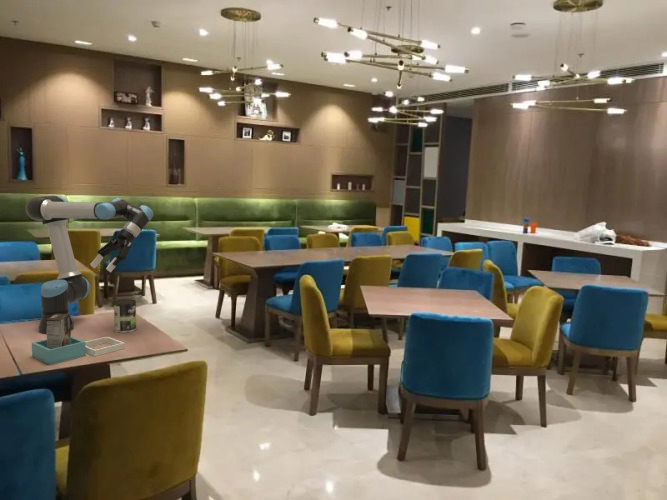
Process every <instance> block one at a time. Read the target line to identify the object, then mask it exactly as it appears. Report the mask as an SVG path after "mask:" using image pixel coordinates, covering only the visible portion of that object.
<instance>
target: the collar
mask: <svg viewBox="0 0 667 500" xmlns="http://www.w3.org/2000/svg"><path fill="white" fill-rule="evenodd" d="M84 342H85V348H86V354H89V355H90V356H93V357H97V356H101V355H105V354H110V353H113V352H116V351H120V350H123V349H126V343H125V342H123V341H121V340H118V339H116V338H113V337H110V336H104V337H100V338H94V339H91V340H86V341H84ZM103 344H109V345H107V346H105V347H102V348H101V347H100V348H97V349H94V348H92V347H94V346H95V347H96V346H97V345H103Z"/></svg>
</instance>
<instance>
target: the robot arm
mask: <svg viewBox="0 0 667 500" xmlns="http://www.w3.org/2000/svg"><path fill="white" fill-rule="evenodd" d="M25 212H26V214H27V216H28V217H29V218H30V219H32V220H34V221H38V222H42V223H41V224H42V226H44V227H45V228H47V232H48V236H49V240H50V244H51V247H52V248H51V249H52V252H53V256H54V260H55V263H56V267H57V272H58V275H57V278H56V279H53V280H49V281H45V282H44V283H43V284H42V285H41V286H40V298H41V300H40V301H41V318H40V321H39V325H38V332H39V333H41V334H45V335H47V332H46V319H48V318H49V317H51V316H52V315H54V314H70V308H69V307H70V305H71V304H74V303H77V302H80V301H81V300H83V299H85V298H87V296H88V295H89V293H90V290H91V285H90V282H89V280H88V279H87V278H86V277H84V276H83V273H82V272H81V271H80V270H78V267H77V263H76V259H75V255H74V251H73V248H72V247H73V246H72V244H71V239H70V236H69V232H68V228H67V223H68V221H69V219H100V220H110V219H118V218H124V219H125V220H127V222H126V223H125V224H124V226H123V227H122V228H121V229H120V231H119V232H118V233H117V238H116V239H115V238H114V237H112V238H111V240H110V241H108V242H107V243H106V244H105V245H103V246H102V247H101V248H99V249H98V250H97V251H96V252H97V255H96V256H95V258H94V259H93V260H92V262H90V264H89V265H90V267H92V268H93V269H96V268H97V266H98V265H99V264H100V263H101V262H102V261H103V259H104V258H105V256H107V255H108V254H109V253H111V252H113V251H116V250H117V253H116V255H115V257H114V258H113V259H112V260H111V261H110V262H109V264H108V265H107V267H106V268H105V269H106V270H107V271H108V272H109V273H112V271H113V270H114V269H116V267H117V266H118V265H119V263H120V262H122V261H125V260H126V259H127V256H128V253H129V252H130V249H131V247H132V246H133V242H134V241H135V239H136V238H137V237H138V236H139V235H140V233H141V232H142V230H143V229H145V227H146V226H147V225H148V224H149V222H150V221H151V220H152V218H153V217H154V211H153V209H151V208H150V207H149V206H148V205H143V204H142V205H140V206H139V207H138V206H136V205H134V204H132V203H130V202H128V201H126V200H125V199H123V198H120V197H115V198H114V199H112V200H111V201H110V202H108V201H107V202H103V201H102V202H101V201H100V202H99V201H97V202H96V201H93V202H92V201H90V202H88V201H87V202H86V201H85V202H84V201H82V202H81V201H68V200H66V199H65V198H64V197H62V196H60V195H46V196H45V195H44V196H35V197H32V198H30V199H29V200H28V201H27V202H26V205H25ZM74 326H75V325H74V321H73V319H72V317H71V315H70V329H71V331H72V330H73V329H74V328H75V327H74Z"/></svg>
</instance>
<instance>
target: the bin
mask: <svg viewBox="0 0 667 500" xmlns="http://www.w3.org/2000/svg"><path fill="white" fill-rule="evenodd" d="M85 342H86V341H84V340H81V339H79V338H77V337H75V336H72V335H71V345H67V346H63V347H58V348H54V349H48V348H47V338H46V339H42V340H38V341H33V342H31V354H32V356H33V357H32V358H34V357H35V359H36V358H37V360H38V359H39V361H40V362H42V363H45V364H47V365H49V366H50V365H51V366H52V365H54V364H55V365H56V364H59V363H63V362H67V361H70V360H74V359H77V358H82V357H86V355H87V353H86V348H85Z"/></svg>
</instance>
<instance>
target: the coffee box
mask: <svg viewBox="0 0 667 500" xmlns="http://www.w3.org/2000/svg"><path fill="white" fill-rule="evenodd" d="M70 316H71V314H70V313H69V314H54V315H52V316H51V317H49V318H48V319H46V332H47V334H46V339H47V348H48V349H54V348H58V347H63V346H67V345H71V336H72V330H71V329H70Z"/></svg>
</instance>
